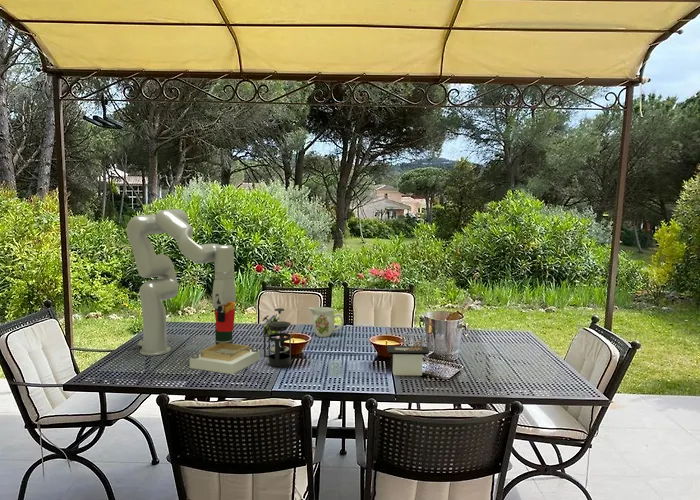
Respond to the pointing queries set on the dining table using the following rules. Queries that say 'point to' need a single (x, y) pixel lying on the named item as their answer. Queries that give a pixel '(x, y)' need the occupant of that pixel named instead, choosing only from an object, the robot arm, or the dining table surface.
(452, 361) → the dining table surface
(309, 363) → the dining table surface
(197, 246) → the robot arm
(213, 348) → the gold-rimmed square tray
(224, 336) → the beer bottle
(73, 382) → the dining table surface
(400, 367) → the dark-capped white block
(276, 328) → the french press
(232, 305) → the french fries
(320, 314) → the pitcher
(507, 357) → the dining table surface
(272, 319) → the passion flower
